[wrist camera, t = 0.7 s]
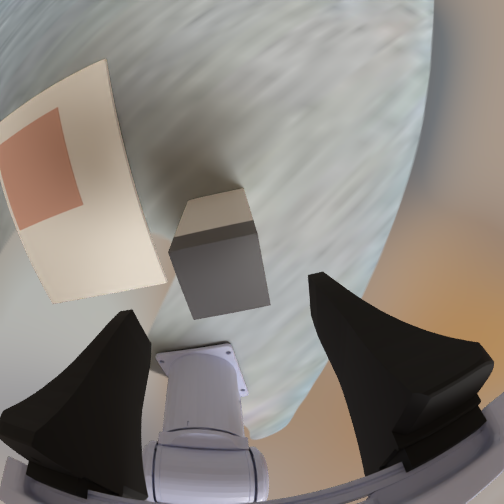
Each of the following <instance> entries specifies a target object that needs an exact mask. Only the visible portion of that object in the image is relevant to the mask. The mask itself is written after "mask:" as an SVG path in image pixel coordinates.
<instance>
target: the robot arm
mask: <svg viewBox="0 0 504 504" xmlns="http://www.w3.org/2000/svg"><path fill="white" fill-rule="evenodd" d="M308 282H309V295H310V309H311V317H312V320H313V323H314V326H315V329H316V332H317V335H318V337H319V339H320V341H321V344H322V346H323V348H324V350H325V352H326V354H327V356H328V358H329V360H330V362H331V365H332V367H333V369H334V371H335V373H336V375H337V377H338V380H339V382H340V385H341V387H342V390H343V393H344V397H345V400H346V403H347V406H348V409H349V413H350V416H351V419H352V423H353V426H354V430H355V434H356V438H357V442H358V445H359V450H360V455H361V458H362V464H363V468H364V474H365V477H363V478H360V479H357V480H354V481H351V482H348V483H345V484H342V485H338V486H335V487H331V488H328V489H324V490H320V491H316V492H312V493H307V494H303V495H298V496H294V497H288V498H282V499H275V500H269V501H266V500H267V497H268V492H269V476H268V469H267V464H266V461H265V458H264V456H263V454H262V453H261V452H260V451H259V450H258V449H257V448H256V447H249V446H248V438H247V437H244V426H243V416H242V406H241V397H244V396H247V395H248V394H249V392H248V389H247V386H246V384H245V381H244V378H243V375H242V373H241V370H240V367H239V364H238V362H237V359H236V356H235V353H234V350H233V347H232V345H231V344H220V345H214V346H208V347H201V348H195V349H188V350H180V351H172V352H164V353H157V354H156V360H157V361H158V363H159V365H160V366H161V368H162V369H163V371H164V372H165V374H166V375H167V377H168V387H167V394H166V403H165V412H164V422H163V432H159V438H158V441H153V440H152V441H150V442H149V443H148V444H147V445H146V446H145V447H144V448H143V451H142V446H141V417H142V407H143V401H144V396H145V390H146V385H147V379H148V374H149V368H150V360H151V342H150V341H149V339H148V337H147V336H146V334H145V332H144V330H143V328H142V327H141V325H140V323H139V321H138V319H137V317H136V315H135V314H134V312H133V310H126V311H120V312H119V313H118V314H117V315H116V316H115V317H114V318H113V319H112V320H111V321H110V322H109V323H108V324H107V325H106V326H105V328H104V329H103V330H102V331H101V332H100V333H99V334H98V335H97V336H96V338H95V339H94V340H93V341H92V342H91V343H90V344H89V345H88V346H87V348H86V349H85V350H84V351H83V352H82V353H81V354H80V355H79V356H78V357H77V358H76V359H75V360H74V361H73V362H72V363H71V364H70V365H69V366H68V367H67V368H66V369H65V370H64V371H63V372H62V373H61V374H59V375H58V376H57V377H56V378H55V379H53V380H52V381H51V382H49V383H48V384H47V385H46V386H44V387H43V388H42V389H40V390H39V391H37V392H36V393H35V394H33V395H31V396H30V397H28V398H27V399H25V400H23V401H22V402H20V403H18V404H16V405H14V406H12V407H10V408H8V409H6V410H4V411H3V412H2V414H1V417H0V439H1V440H2V441H3V442H4V443H5V444H6V445H8V446H9V447H10V448H12V449H13V450H14V451H16V452H17V453H18V454H20V455H21V456H23V457H24V458H26V459H27V460H29V463H28V465H25V464H24V463H22V462H20V461H18V460H16V459H14V458H11V457H10V456H8V457H7V461H6V465H5V469H4V473H3V477H2V481H1V487H0V500H1V501H3V502H4V503H6V504H346V503H349V502H352V501H355V500H358V499H361V498H364V497H366V496H368V498H367V499H366V501H363V502H360V503H357V504H467V503H468V502H469V501H471V500H472V499H473V498H474V497H475V496H477V495H478V494H479V493H480V492H481V491H482V490H483V489H485V488H486V487H487V486H488V485H489V484H490V483H491V482H492V481H494V480H495V479H496V478H497V477H498V476H499V475H500V474H501V473H502V472H503V471H504V392H503V393H502V394H501V395H499V396H498V397H497V398H496V399H494V400H493V401H492V402H491V403H489V404H488V405H487V406H486V407H485V408H484V409H483V410H482V411H481V410H480V408H479V407H478V405H479V404H480V402H481V400H480V398H479V396H478V395H477V393H478V392H479V390H480V389H481V387H482V386H483V385H484V383H485V382H486V380H487V379H488V377H489V376H490V374H491V372H492V370H493V367H494V361H493V360H492V358H491V357H490V356H489V354H488V353H487V352H486V351H485V349H484V348H483V347H482V346H481V345H480V343H478V342H472V341H466V340H461V339H455V338H450V337H446V336H443V335H439V334H436V333H432V332H429V331H426V330H423V329H420V328H418V327H415V326H413V325H410V324H408V323H405V322H403V321H401V320H399V319H397V318H394V317H392V316H390V315H388V314H386V313H384V312H382V311H380V310H379V309H377V308H375V307H374V306H372V305H370V304H369V303H367V302H365V301H364V300H362V299H361V298H359V297H358V296H356V295H355V294H353V293H352V292H350V291H349V290H347V289H346V288H345V287H343V286H342V285H341V284H339V283H338V282H336V281H335V280H334V279H332V278H331V277H330V276H328V275H327V274H325V273H324V272H319V273H315V274H311V275H308ZM227 351H229V352H227ZM162 360H163V361H162ZM369 495H370V496H369Z"/></svg>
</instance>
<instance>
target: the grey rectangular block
mask: <svg viewBox="0 0 504 504" xmlns="http://www.w3.org/2000/svg"><path fill="white" fill-rule="evenodd" d="M168 253H169V256H170V259H171V261H172V264H173V267H174V270H175V273H176V275H177V278H178V281H179V283H180V286H181V289H182V291H183V294H184V296H185V299H186V301H187V304H188V307H189V309H190V312H191V314H192V316H193V319H194V320H195V319H201V318H207V317H212V316H218V315H223V314H229V313H234V312H239V311H244V310H249V309H254V308H259V307H264V306H269V305H270V299H269V294H268V288H267V283H266V277H265V272H264V266H263V261H262V256H261V250H260V245H259V240H258V234H257V231H256V227H255V224H254V221H253V217H252V214H251V211H250V207H249V204H248V201H247V197H246V194H245V191H244V188H242V189H237V190H232V191H227V192H222V193H218V194H213V195H209V196H204V197H200V198H196V199H192V200H188V202H187V204H186V207H185V209H184V212H183V214H182V217H181V220H180V222H179V225H178V227H177V230H176V233H175V235H174V238H173V241H172V243H171V246H170V249H169V252H168Z"/></svg>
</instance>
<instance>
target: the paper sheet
mask: <svg viewBox="0 0 504 504" xmlns="http://www.w3.org/2000/svg"><path fill="white" fill-rule="evenodd" d="M0 181H1V185H2V188H3V192H4V195H5V198H6V201H7V204H8V207H9V210H10V213H11V216H12V219H13V221H14V224H15V227H16V229H17V232H18V234H19V237H20V239H21V241H22V244H23V246H24V248H25V250H26V253H27V255H28V257H29V259H30V262H31V264H32V266H33V268H34V270H35V272H36V274H37V276H38V278H39V280H40V282H41V284H42V285H43V287H44V289H45V291H46V292H47V295H48V296H49V298H50V300H51V302H52V303H53V304H56V303H61V302H67V301H72V300H78V299H83V298H88V297H94V296H100V295H105V294H111V293H116V292H121V291H127V290H132V289H137V288H142V287H148V286H153V285H158V284H163V283H167V278H166V275H165V272H164V270H163V267H162V265H161V262H160V259H159V257H158V254H157V251H156V248H155V245H154V243H153V240H152V237H151V234H150V231H149V228H148V225H147V222H146V219H145V216H144V213H143V210H142V207H141V204H140V200H139V197H138V194H137V190H136V187H135V184H134V180H133V177H132V173H131V170H130V166H129V162H128V159H127V155H126V151H125V147H124V143H123V139H122V135H121V131H120V126H119V122H118V117H117V113H116V108H115V103H114V98H113V93H112V87H111V82H110V76H109V70H108V64H107V59H103V60H100V61H98V62H96V63H94V64H92V65H90V66H88V67H86V68H84V69H82V70H80V71H78V72H76V73H74V74H72V75H70V76H68V77H66V78H65V79H63V80H61V81H59V82H58V83H56V84H54V85H53V86H51V87H49V88H48V89H46V90H44V91H43V92H41V93H40V94H38V95H37V96H35V97H34V98H32V99H31V100H29V101H28V102H26V103H25V104H23V105H22V106H20V107H19V108H18V109H16V110H15V111H14V112H12V113H11V114H10V115H8V116H7V117H6V118H5V119H3V120H2V121H1V122H0Z"/></svg>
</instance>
